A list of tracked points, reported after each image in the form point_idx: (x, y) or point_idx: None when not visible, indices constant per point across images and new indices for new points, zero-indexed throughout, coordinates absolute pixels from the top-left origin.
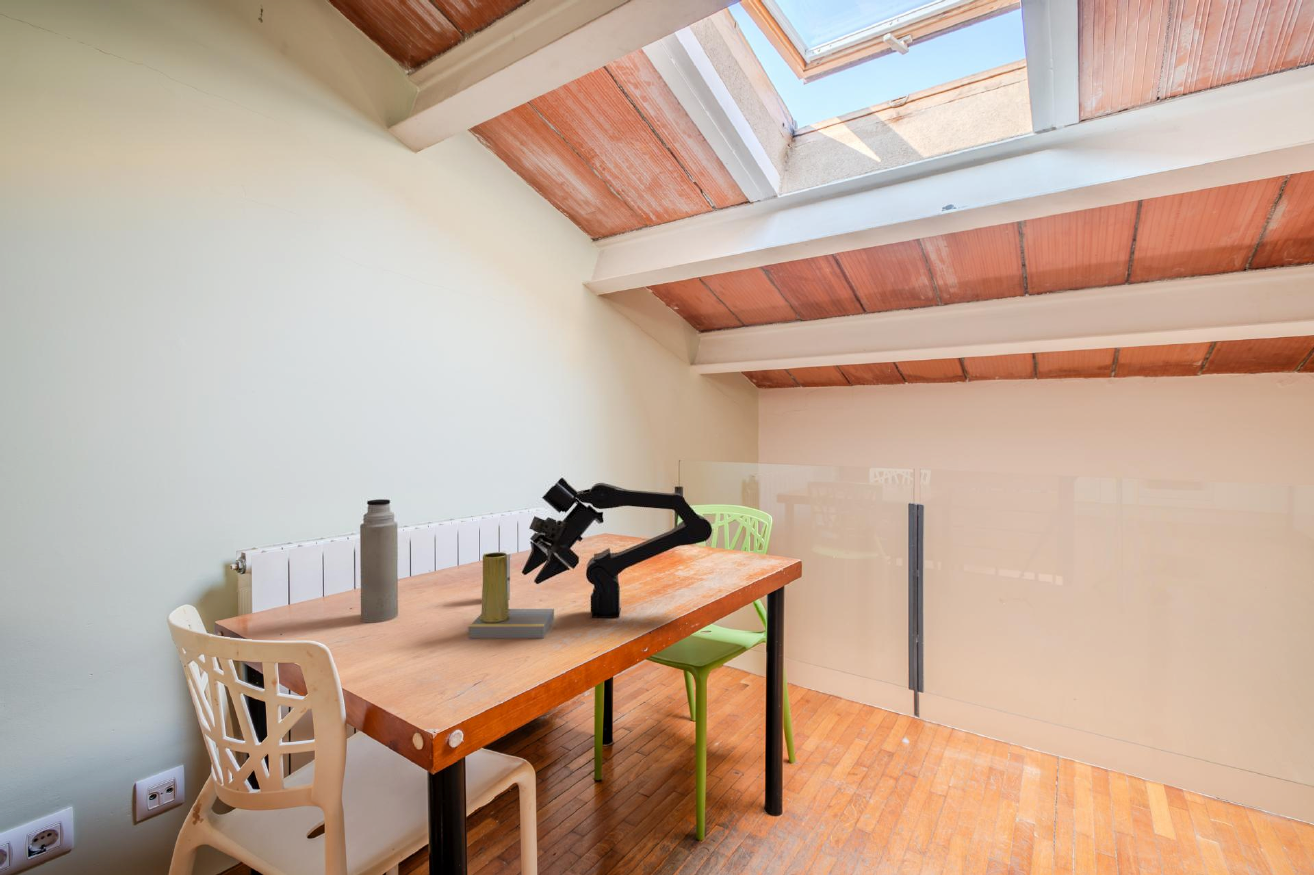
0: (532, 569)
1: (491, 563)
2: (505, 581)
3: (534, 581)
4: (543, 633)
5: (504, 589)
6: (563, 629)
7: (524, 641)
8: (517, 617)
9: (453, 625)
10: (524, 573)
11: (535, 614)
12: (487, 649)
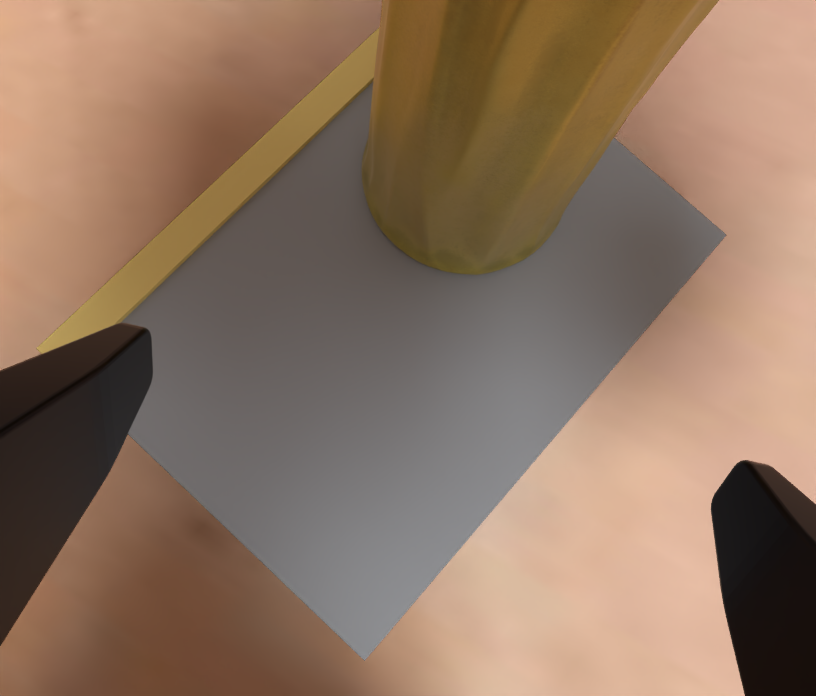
0: (745, 648)
1: None
2: (419, 29)
3: (123, 323)
4: None
5: (389, 63)
6: (126, 567)
7: (131, 244)
8: (376, 309)
9: (706, 69)
10: (725, 495)
11: (340, 453)
12: (183, 29)
